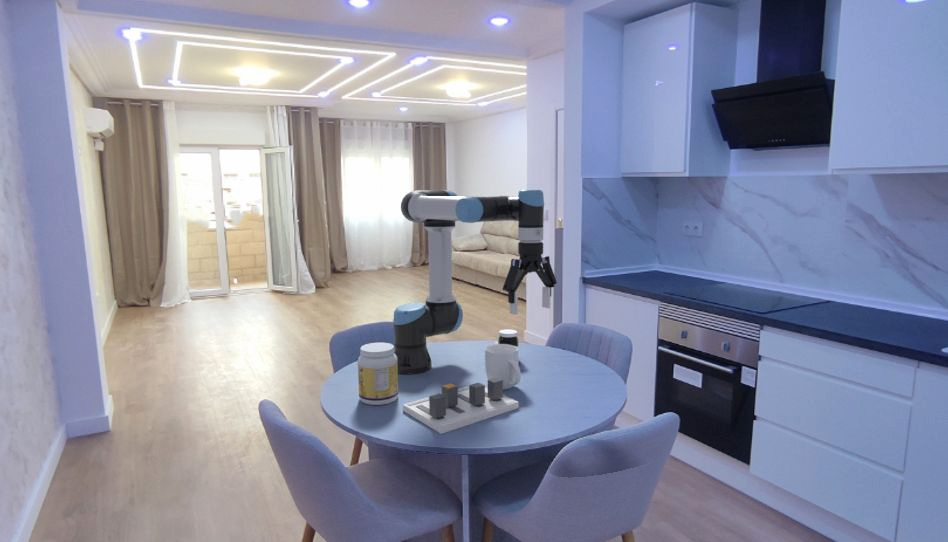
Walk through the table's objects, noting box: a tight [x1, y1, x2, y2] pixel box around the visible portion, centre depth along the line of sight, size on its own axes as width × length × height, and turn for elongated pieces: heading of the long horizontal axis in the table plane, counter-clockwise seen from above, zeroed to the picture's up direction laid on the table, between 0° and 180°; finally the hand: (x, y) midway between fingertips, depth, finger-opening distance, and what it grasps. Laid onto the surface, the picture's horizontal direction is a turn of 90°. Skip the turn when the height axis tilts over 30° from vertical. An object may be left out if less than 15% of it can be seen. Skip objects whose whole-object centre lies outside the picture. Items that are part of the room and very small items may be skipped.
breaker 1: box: [429, 392, 446, 418], centre depth 153 cm, size 3×4×6 cm
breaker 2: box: [441, 383, 459, 408], centre depth 160 cm, size 3×4×6 cm
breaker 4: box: [487, 377, 504, 400], centre depth 166 cm, size 3×4×6 cm
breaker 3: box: [468, 382, 486, 406], centre depth 162 cm, size 3×4×6 cm
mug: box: [484, 343, 522, 391], centre depth 180 cm, size 15×11×13 cm
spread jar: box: [492, 329, 519, 349], centre depth 210 cm, size 12×11×12 cm
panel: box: [402, 385, 519, 435], centre depth 163 cm, size 20×28×2 cm
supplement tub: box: [357, 342, 399, 406], centre depth 171 cm, size 12×12×17 cm
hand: (530, 310), depth 168 cm, fingers open, 13 cm apart
